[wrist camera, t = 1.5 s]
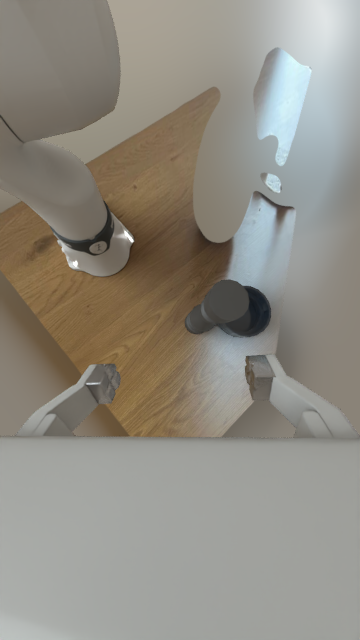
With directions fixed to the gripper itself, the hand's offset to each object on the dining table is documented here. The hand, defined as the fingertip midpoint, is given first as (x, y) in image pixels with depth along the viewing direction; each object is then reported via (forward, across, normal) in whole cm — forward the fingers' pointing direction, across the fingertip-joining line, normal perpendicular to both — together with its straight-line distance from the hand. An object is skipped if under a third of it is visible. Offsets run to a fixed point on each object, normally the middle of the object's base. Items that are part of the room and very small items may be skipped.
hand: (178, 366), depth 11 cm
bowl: (+37, -11, +18) cm, 42 cm away
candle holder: (+33, +1, +18) cm, 38 cm away
